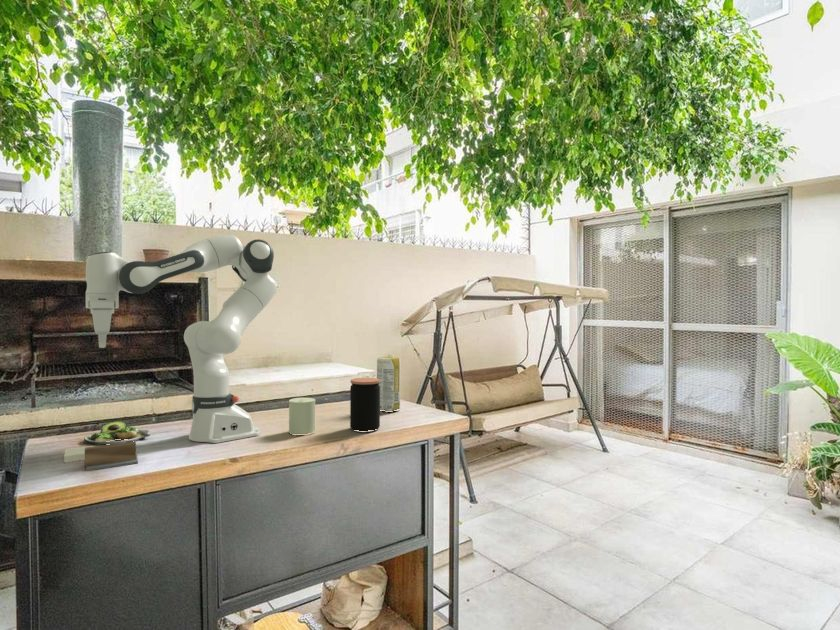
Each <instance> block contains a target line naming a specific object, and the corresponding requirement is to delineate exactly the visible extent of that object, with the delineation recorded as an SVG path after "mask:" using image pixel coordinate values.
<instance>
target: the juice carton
mask: <svg viewBox="0 0 840 630" xmlns="http://www.w3.org/2000/svg"><path fill="white" fill-rule="evenodd" d="M394 356H395V354H389V353H388V355H387V356H379V357H377V358H376V378H377V379H380V382H379V386H380V410H385V411H394V410H397V409H401V357H394Z"/></svg>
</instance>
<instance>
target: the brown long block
mask: <svg viewBox="0 0 840 630" xmlns="http://www.w3.org/2000/svg"><path fill="white" fill-rule="evenodd" d="M136 442H137V441H134V442H127V443H118V444H110V445H93V446H94V447H88V446H84V447H85V460H84V467H87V466H93V465H100V464H107V463H115V462H122V461H129V460H136V455H137V443H136Z"/></svg>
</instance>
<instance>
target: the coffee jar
mask: <svg viewBox="0 0 840 630" xmlns="http://www.w3.org/2000/svg"><path fill="white" fill-rule="evenodd" d="M379 382H380V379H377V377H356V378H351V379H350V383H351V385H350V388H349V390H350V392H349V393H350V397H349V398H350V400H349V401H350V402H349V403H350V406H349V408H350V411H349V413H350V417H349V418H350V420H349V422H350V425H349V427H350V429H351V430H352V429H353V430H359V431H368V430H375V429H378V430H379V428H380V426H381V425H380V424H381V421H380V420H381V418H380V417H381V411H380V386H379ZM353 430H352V431H353Z"/></svg>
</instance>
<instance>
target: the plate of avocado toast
mask: <svg viewBox="0 0 840 630" xmlns="http://www.w3.org/2000/svg"><path fill="white" fill-rule="evenodd" d="M150 433H151V431H150V430H149V429H139V428H136V427H135V426H130V425H129V426H127V424H126V422H124V421H120V420H118V421H117V420H115V421H112V422H109V423H106V424H104V425H102V426H101V428H100V432H94V433H93V434H89V435H86V436H84V437H83V438H84V439H83V441H84V442H85V443H86V444H88V443H90V444H89V445H97V444H118V443H127V442H133V441H134V442H137V441H140V440H142V438H143V439H145V438H148V437H151V434H150ZM115 439H121V440H122V441H110V440H115ZM124 439H128V440H124ZM139 439H140V440H139ZM136 440H137V441H136ZM106 441H110V442H106Z"/></svg>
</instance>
